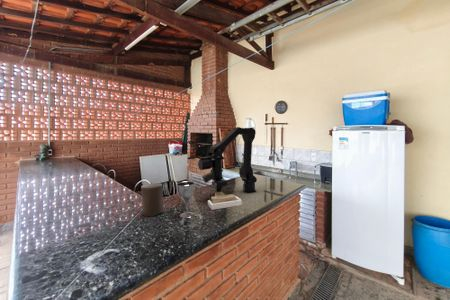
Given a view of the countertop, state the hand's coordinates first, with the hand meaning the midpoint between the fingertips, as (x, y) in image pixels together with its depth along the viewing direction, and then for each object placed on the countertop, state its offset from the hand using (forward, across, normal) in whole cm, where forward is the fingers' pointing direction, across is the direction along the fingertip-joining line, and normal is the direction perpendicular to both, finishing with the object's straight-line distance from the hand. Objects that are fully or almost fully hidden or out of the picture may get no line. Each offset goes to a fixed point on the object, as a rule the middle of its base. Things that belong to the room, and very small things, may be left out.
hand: (218, 194), depth 119 cm
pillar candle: (+2, +7, -35) cm, 36 cm away
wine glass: (+2, +17, -20) cm, 26 cm away
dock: (+2, +11, 0) cm, 11 cm away
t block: (+2, +7, 0) cm, 7 cm away
